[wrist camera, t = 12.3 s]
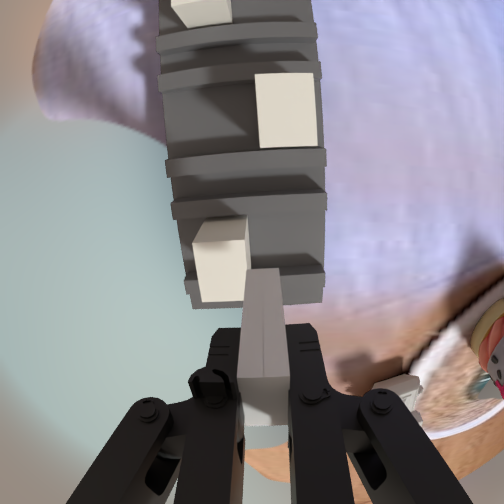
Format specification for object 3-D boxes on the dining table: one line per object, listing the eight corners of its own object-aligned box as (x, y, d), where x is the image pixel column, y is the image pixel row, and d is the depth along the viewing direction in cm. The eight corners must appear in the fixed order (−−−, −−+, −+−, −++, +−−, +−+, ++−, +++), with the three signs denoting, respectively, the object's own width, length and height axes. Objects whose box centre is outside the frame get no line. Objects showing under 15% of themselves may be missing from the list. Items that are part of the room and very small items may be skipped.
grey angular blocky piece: (419, 360, 32) (444, 407, 24) (414, 390, 34) (434, 434, 26) (355, 381, 33) (372, 434, 25) (356, 408, 35) (369, 457, 27)
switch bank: (167, -24, 16) (151, -46, 12) (297, -36, 15) (304, -61, 11) (196, 291, 28) (187, 319, 23) (316, 284, 27) (325, 312, 23)
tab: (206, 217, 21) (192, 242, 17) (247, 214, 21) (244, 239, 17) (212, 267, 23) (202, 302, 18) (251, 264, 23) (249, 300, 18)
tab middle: (255, 87, 18) (254, 74, 13) (299, 86, 17) (313, 73, 13) (259, 144, 19) (259, 148, 15) (303, 142, 19) (317, 145, 14)
